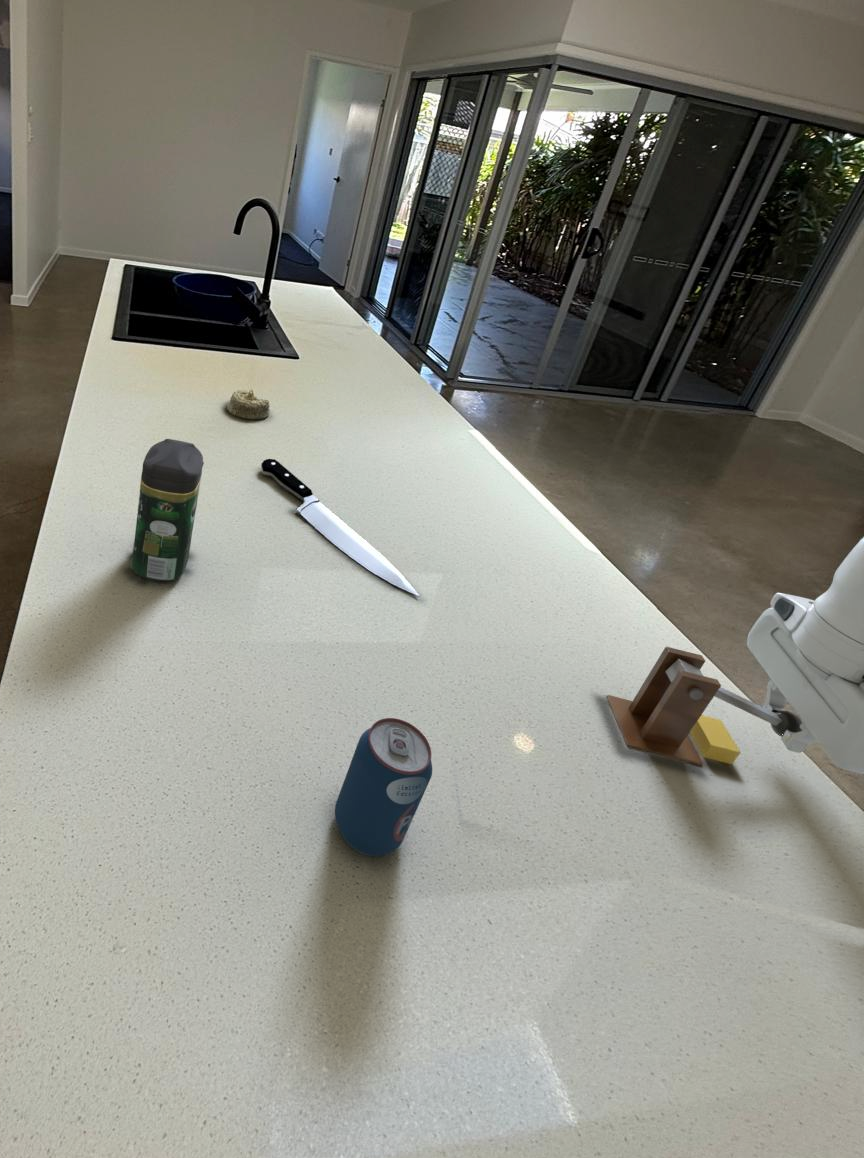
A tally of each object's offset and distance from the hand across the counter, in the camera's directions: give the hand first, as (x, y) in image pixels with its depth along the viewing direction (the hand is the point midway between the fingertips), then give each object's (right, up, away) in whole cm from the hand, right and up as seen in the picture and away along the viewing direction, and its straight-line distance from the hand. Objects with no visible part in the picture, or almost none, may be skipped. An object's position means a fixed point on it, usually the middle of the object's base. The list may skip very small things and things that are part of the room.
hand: (779, 730), depth 79 cm
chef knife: (-51, +21, +34) cm, 65 cm away
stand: (-14, -2, +3) cm, 14 cm away
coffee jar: (-78, +17, +15) cm, 81 cm away
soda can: (-52, -3, -15) cm, 55 cm away
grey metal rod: (-6, +3, 0) cm, 7 cm away
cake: (-66, +43, +71) cm, 106 cm away
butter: (-7, -3, +3) cm, 8 cm away
